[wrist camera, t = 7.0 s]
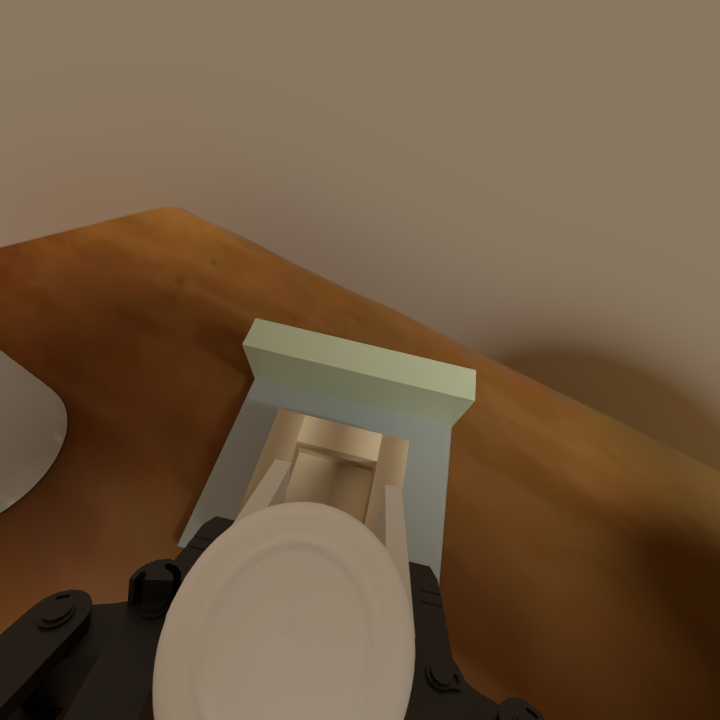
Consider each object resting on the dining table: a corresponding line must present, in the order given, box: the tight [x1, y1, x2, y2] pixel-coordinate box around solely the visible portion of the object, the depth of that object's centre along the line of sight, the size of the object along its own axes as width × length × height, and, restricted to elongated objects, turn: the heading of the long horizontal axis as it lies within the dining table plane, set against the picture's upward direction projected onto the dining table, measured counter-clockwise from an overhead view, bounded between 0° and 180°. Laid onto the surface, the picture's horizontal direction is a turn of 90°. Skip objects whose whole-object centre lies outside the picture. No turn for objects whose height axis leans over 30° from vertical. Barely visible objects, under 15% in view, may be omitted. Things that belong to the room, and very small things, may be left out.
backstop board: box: [177, 318, 476, 584], centre depth 27 cm, size 20×18×7 cm
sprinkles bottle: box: [152, 502, 415, 720], centre depth 11 cm, size 5×5×14 cm
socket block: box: [235, 408, 409, 533], centre depth 26 cm, size 11×11×4 cm
